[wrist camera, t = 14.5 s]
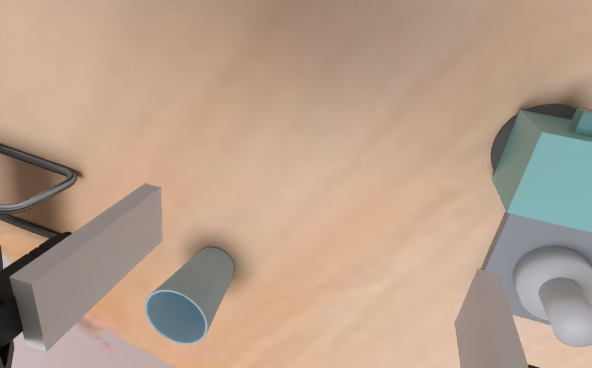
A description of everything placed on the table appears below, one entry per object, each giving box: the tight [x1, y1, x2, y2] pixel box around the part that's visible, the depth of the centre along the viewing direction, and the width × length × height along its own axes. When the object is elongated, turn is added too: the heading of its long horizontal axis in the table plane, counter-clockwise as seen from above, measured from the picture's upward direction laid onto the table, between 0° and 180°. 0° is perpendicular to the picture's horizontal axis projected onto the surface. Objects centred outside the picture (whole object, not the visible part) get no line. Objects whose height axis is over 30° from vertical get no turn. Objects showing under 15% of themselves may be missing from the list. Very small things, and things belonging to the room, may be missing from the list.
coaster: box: [491, 104, 577, 172], centre depth 37 cm, size 9×9×1 cm
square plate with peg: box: [481, 212, 592, 347], centre depth 38 cm, size 12×12×9 cm
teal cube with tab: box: [492, 108, 592, 233], centre depth 33 cm, size 9×7×7 cm
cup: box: [145, 247, 234, 344], centre depth 49 cm, size 8×8×10 cm
